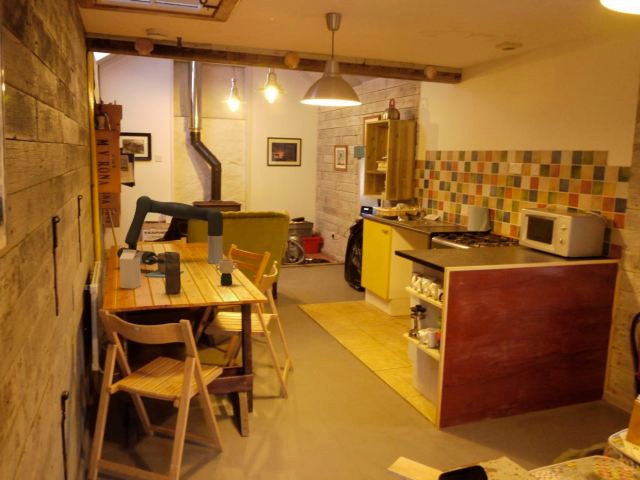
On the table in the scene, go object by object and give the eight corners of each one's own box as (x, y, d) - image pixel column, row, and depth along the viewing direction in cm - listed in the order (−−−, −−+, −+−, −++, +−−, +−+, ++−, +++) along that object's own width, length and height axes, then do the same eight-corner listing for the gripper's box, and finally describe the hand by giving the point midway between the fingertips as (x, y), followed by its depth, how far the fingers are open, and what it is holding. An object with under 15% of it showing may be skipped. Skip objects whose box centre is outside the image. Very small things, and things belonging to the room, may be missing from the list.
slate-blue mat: (157, 270, 310) (157, 269, 310) (183, 272, 308) (183, 270, 308) (144, 276, 295) (144, 275, 295) (172, 278, 292) (172, 276, 292)
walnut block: (164, 269, 304) (164, 252, 303) (171, 271, 302) (170, 253, 300) (157, 271, 300) (157, 253, 299) (164, 272, 298) (163, 254, 296)
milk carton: (133, 289, 268) (132, 251, 265) (120, 288, 269) (119, 250, 266) (141, 285, 274) (139, 249, 272) (128, 284, 276) (127, 248, 273)
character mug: (236, 282, 285) (235, 258, 283) (237, 285, 278) (237, 261, 276) (215, 283, 282) (214, 259, 280) (216, 286, 275) (216, 261, 273)
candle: (167, 290, 266) (166, 250, 263) (182, 290, 266) (181, 250, 263) (163, 294, 258) (162, 253, 255) (179, 294, 259) (178, 253, 256)
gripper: (135, 252, 301) (157, 256, 292) (155, 249, 313) (177, 252, 304) (136, 266, 302) (158, 269, 293) (155, 262, 314) (177, 265, 306)
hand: (167, 261), depth 299 cm, fingers closed on walnut block, 5 cm apart
